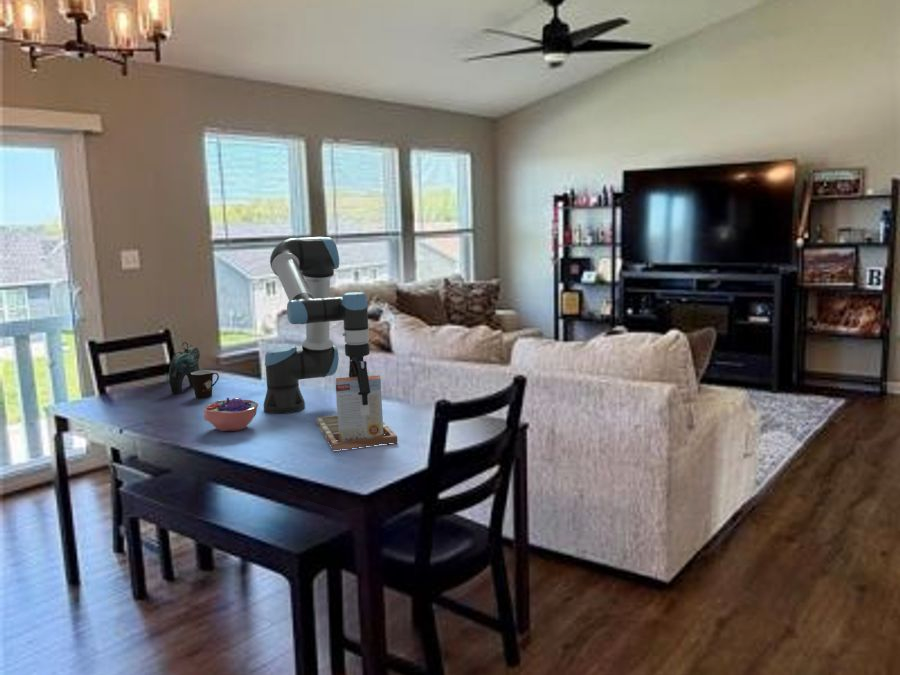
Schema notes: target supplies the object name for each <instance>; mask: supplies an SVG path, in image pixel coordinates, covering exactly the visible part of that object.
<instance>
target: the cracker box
mask: <svg viewBox="0 0 900 675" xmlns="http://www.w3.org/2000/svg"><path fill="white" fill-rule="evenodd" d="M368 380H369V387H370V393H369V412H370V414H369V415H360V397H359V395H358V392H360V389H359V384H358V379H357V377H349V376H347V377H337V378H335V394H336V396H335V397H336V411H337V412H336V415H338V430H339V441H338V442H343V441H351V440H359V439H367V438H375V437H383V436H385V435H384V434H383V422H384V419H383V402H382V400H383V399H382V385H381V381H382V380H381V376H380V375H368ZM364 390H365V389H364Z"/></svg>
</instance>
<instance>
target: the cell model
mask: <svg viewBox="0 0 900 675" xmlns="http://www.w3.org/2000/svg"><path fill="white" fill-rule="evenodd" d="M258 407H259V403H258V402H256V401H254V400H251V399H242V398H241V397H233V398H232V399H230V397H226V400H220V399H219V400H216V401H215V402H210V403H207V404H206V405H205V406H204V407H203V408H202V409H203V418H204V421H206V422H208V423H209V424H211V426H213V427H214V428H216V429H217V430H220V431H223V432H228V431H233V432H238V431H241V430H243V429H244V428H246V427H247V426H248V425H250V424H251V422H252V421H253V419H254V418H255V417H256V415H257V412H258V411H257V410H258Z"/></svg>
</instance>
